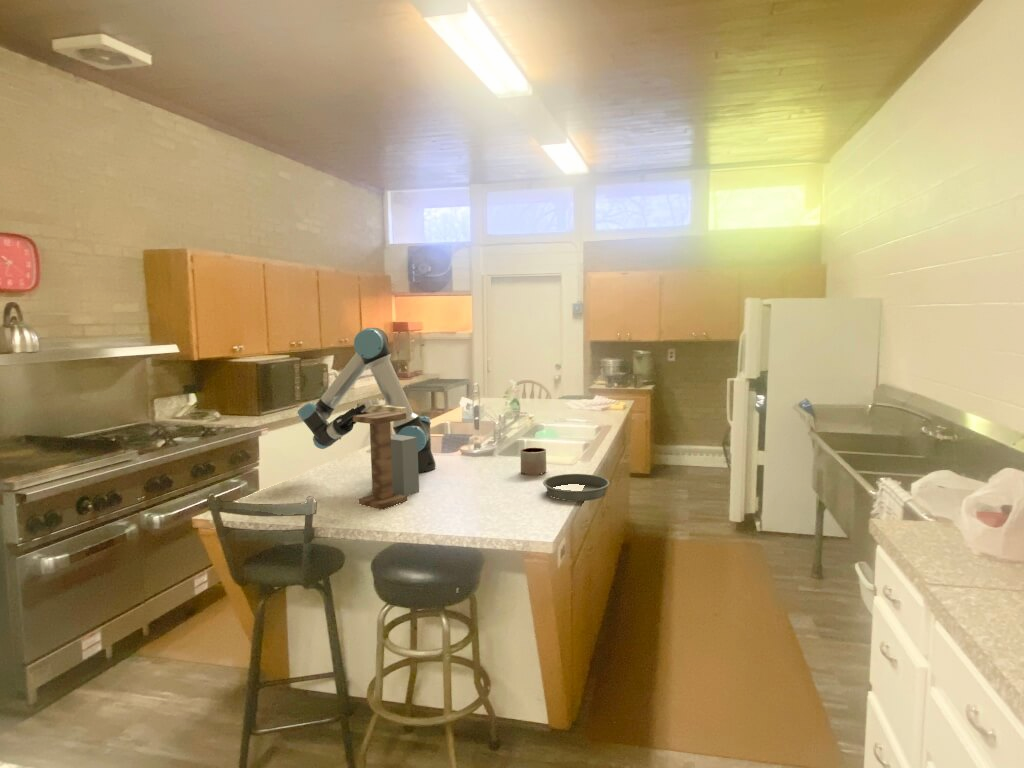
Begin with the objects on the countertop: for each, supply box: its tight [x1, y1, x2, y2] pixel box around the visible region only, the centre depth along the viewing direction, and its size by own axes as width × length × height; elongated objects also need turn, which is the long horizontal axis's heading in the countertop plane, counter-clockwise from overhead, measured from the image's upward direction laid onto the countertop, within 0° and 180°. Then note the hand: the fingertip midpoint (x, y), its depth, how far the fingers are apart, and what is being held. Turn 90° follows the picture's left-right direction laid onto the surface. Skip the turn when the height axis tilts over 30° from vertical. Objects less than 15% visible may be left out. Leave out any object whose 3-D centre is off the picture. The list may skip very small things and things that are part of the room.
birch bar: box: [356, 402, 407, 415], centre depth 252 cm, size 24×3×3 cm, turn 54°
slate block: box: [369, 433, 420, 496], centre depth 251 cm, size 17×8×21 cm, turn 54°
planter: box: [520, 446, 547, 475], centre depth 278 cm, size 11×11×10 cm
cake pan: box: [542, 473, 611, 502], centre depth 245 cm, size 25×25×4 cm
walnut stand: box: [353, 411, 408, 510], centre depth 235 cm, size 12×14×32 cm
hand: (374, 401), depth 254 cm, fingers closed on birch bar, 3 cm apart
